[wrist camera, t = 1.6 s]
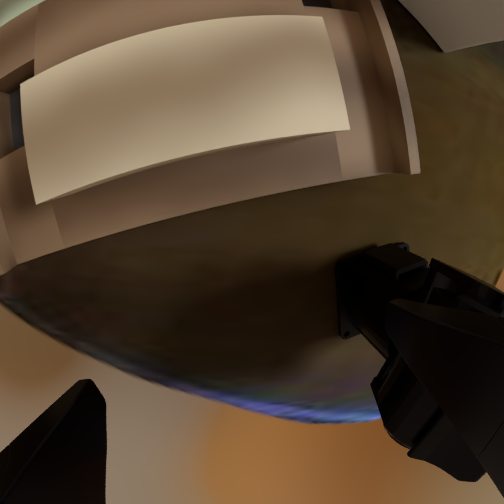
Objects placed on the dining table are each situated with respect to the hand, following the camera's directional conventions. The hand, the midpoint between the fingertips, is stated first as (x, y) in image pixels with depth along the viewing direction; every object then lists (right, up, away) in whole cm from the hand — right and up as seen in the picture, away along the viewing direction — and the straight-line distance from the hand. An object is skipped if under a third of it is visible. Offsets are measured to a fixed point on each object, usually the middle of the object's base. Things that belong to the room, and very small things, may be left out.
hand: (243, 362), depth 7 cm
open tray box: (-5, +16, +5) cm, 18 cm away
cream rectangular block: (-3, +10, +4) cm, 11 cm away
